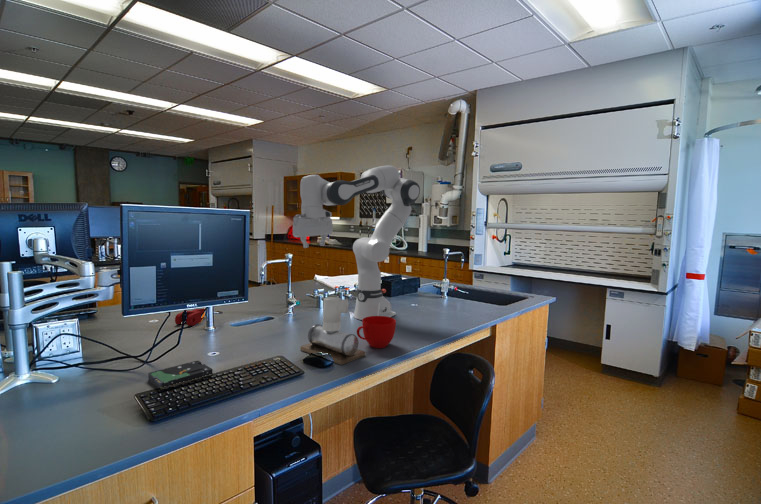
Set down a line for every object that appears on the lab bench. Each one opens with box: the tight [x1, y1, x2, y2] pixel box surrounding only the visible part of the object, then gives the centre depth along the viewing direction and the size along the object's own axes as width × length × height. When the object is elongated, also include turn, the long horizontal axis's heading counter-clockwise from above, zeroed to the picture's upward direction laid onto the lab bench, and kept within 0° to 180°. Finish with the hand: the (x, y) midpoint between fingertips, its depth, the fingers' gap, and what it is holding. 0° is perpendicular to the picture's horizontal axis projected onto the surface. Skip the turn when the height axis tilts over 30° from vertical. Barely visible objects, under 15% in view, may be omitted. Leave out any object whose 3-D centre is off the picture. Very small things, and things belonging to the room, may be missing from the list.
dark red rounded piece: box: [174, 308, 206, 327], centre depth 179 cm, size 16×7×5 cm, turn 172°
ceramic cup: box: [356, 316, 397, 349], centre depth 152 cm, size 13×17×10 cm
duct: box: [300, 323, 366, 366], centre depth 143 cm, size 12×21×12 cm, turn 51°
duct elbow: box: [322, 296, 349, 331], centre depth 142 cm, size 6×9×11 cm
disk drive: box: [147, 360, 213, 389], centre depth 119 cm, size 10×3×15 cm
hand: (314, 246), depth 167 cm, fingers open, 8 cm apart
